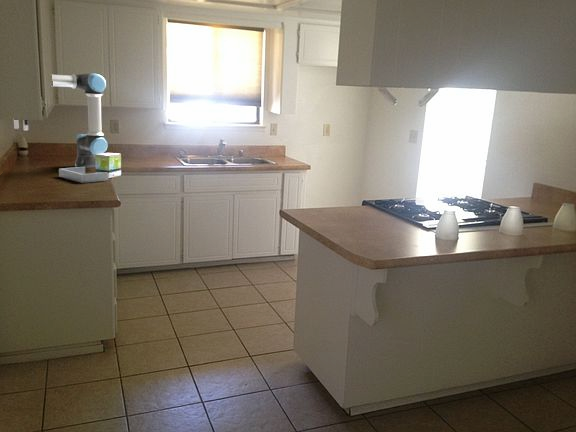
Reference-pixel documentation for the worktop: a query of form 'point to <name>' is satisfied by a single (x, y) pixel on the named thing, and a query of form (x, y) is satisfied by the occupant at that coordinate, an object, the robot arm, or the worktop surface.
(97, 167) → the tea box
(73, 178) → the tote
